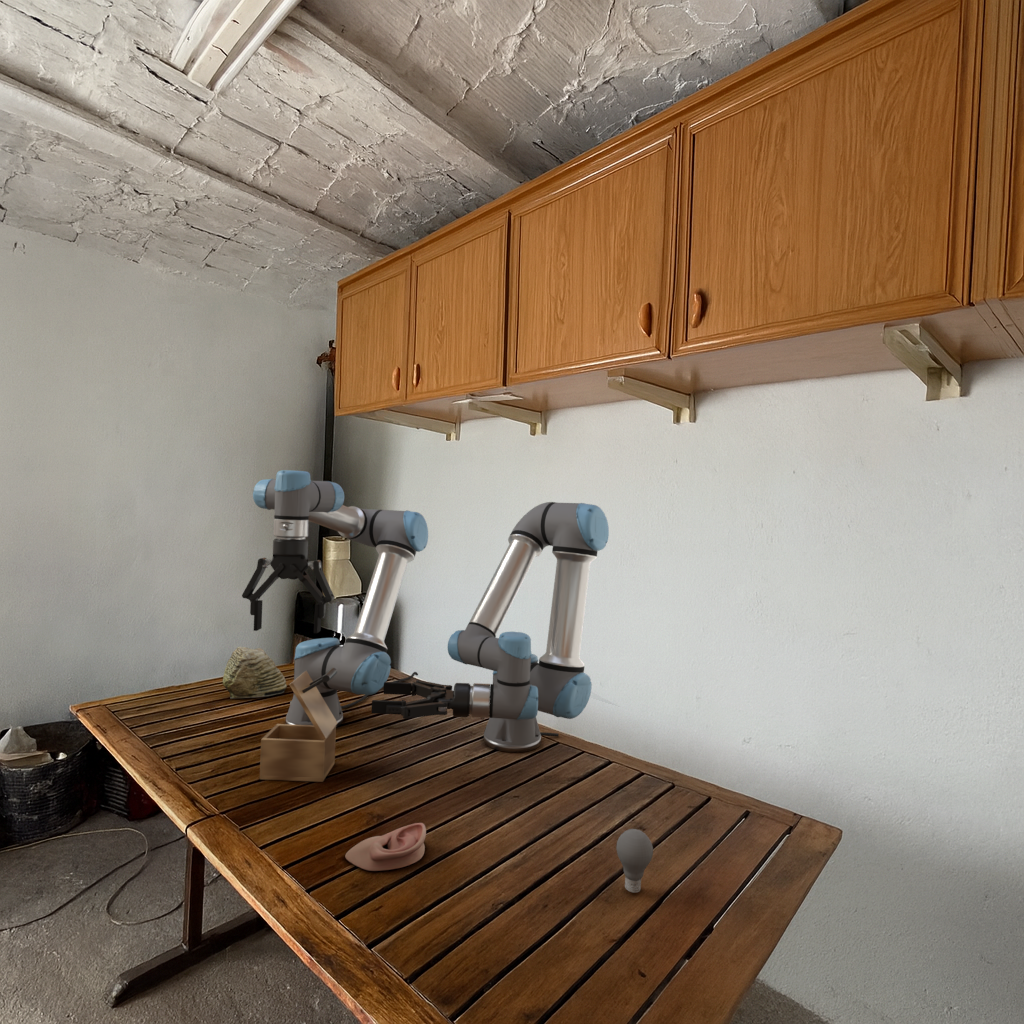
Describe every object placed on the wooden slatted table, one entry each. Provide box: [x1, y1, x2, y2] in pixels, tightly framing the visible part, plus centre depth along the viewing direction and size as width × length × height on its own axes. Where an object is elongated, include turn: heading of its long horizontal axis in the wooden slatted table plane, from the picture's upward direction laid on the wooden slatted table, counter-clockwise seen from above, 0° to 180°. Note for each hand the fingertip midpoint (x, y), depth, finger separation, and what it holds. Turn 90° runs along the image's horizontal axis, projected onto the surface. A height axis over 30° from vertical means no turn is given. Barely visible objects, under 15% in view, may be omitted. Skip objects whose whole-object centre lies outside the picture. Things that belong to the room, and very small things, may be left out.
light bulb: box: [615, 828, 654, 894], centre depth 106 cm, size 6×6×10 cm
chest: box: [259, 723, 337, 783], centre depth 145 cm, size 14×10×9 cm
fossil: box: [222, 646, 288, 699], centre depth 198 cm, size 9×18×15 cm, turn 132°
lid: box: [288, 668, 337, 740], centre depth 145 cm, size 14×10×8 cm
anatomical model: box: [344, 822, 427, 872], centre depth 113 cm, size 13×4×12 cm
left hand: (287, 631), depth 145 cm, fingers open, 13 cm apart
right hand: (378, 696), depth 145 cm, fingers open, 13 cm apart
